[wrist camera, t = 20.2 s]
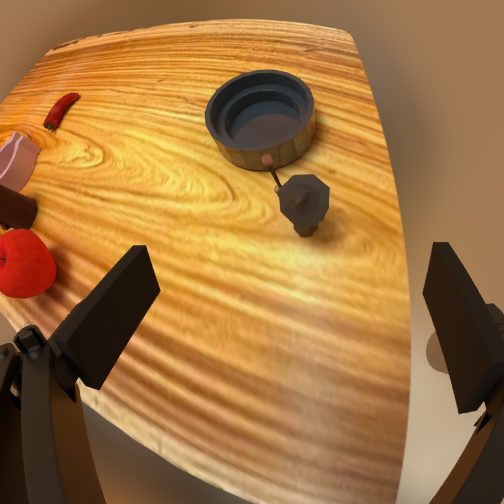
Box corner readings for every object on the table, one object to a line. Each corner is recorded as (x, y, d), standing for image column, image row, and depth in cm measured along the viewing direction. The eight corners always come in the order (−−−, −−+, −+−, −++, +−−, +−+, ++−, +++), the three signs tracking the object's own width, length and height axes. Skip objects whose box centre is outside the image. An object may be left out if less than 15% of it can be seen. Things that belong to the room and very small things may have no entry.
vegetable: (49, 126, 55) (78, 90, 58) (35, 122, 55) (64, 86, 58) (56, 137, 59) (82, 101, 63) (42, 132, 59) (68, 97, 62)
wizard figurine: (334, 214, 40) (339, 170, 29) (318, 252, 39) (318, 219, 28) (278, 193, 42) (263, 145, 31) (261, 228, 42) (239, 189, 30)
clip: (6, 223, 56) (-14, 214, 49) (-7, 206, 60) (-25, 197, 53) (45, 150, 58) (27, 137, 52) (28, 141, 62) (12, 129, 56)
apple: (49, 232, 51) (-1, 210, 38) (78, 260, 47) (22, 238, 35) (26, 284, 50) (-25, 270, 37) (53, 316, 46) (-5, 307, 33)
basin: (330, 108, 44) (329, 82, 39) (290, 186, 42) (285, 165, 37) (245, 86, 49) (237, 63, 43) (200, 154, 47) (185, 133, 41)
